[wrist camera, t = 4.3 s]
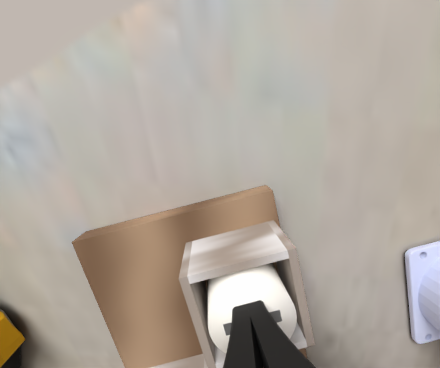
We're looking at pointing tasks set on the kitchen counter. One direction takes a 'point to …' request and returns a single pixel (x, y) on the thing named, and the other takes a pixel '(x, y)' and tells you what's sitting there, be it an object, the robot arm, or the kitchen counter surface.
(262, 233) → the knob board
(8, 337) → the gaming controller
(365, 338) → the kitchen counter surface
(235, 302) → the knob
